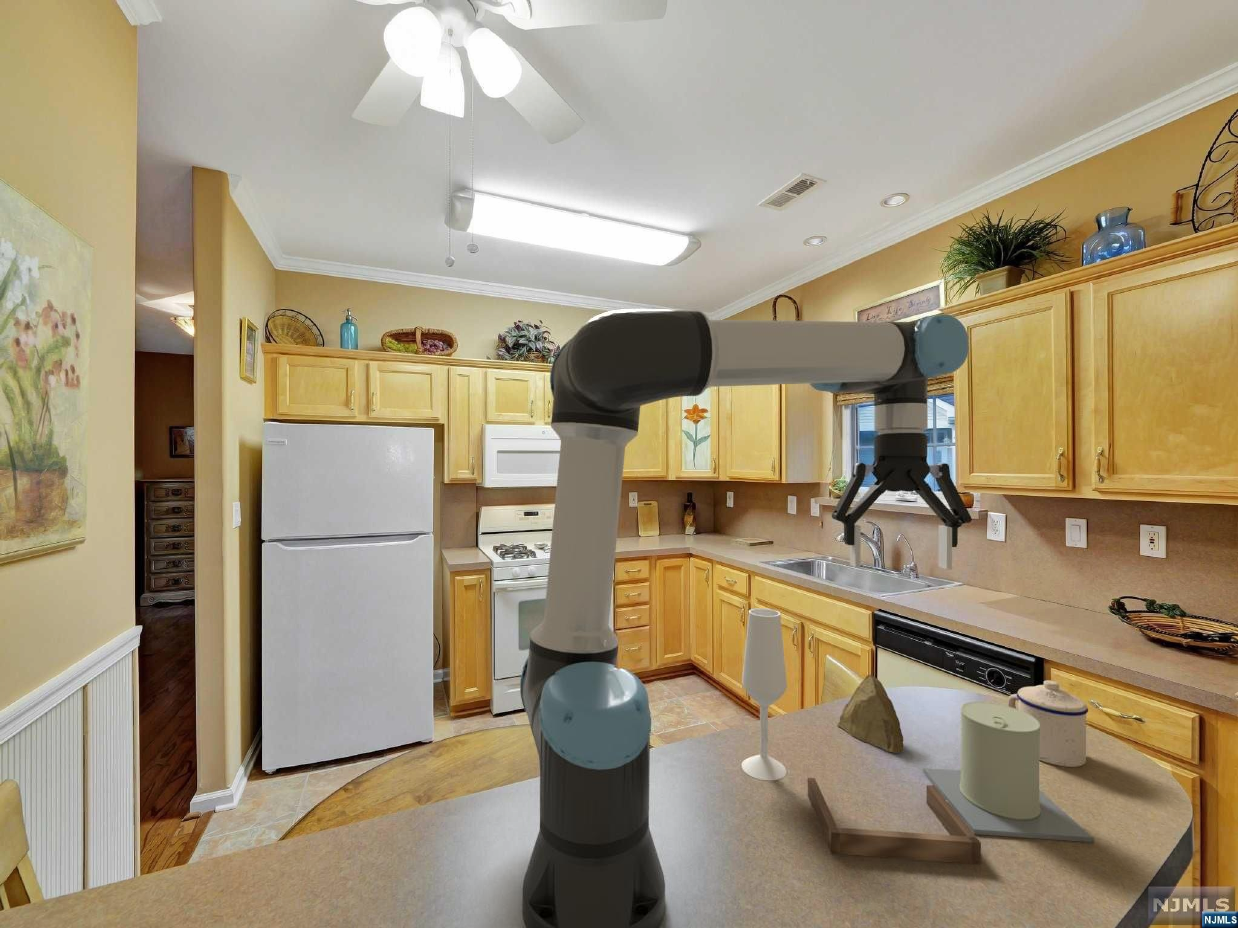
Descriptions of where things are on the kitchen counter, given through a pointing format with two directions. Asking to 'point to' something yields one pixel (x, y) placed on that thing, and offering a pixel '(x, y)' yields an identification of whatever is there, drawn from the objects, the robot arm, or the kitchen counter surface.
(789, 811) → the kitchen counter surface
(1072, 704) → the teacup with lid
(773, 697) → the champagne flute
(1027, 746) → the can
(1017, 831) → the slate tile
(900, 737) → the rock
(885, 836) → the walnut stall
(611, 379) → the robot arm
